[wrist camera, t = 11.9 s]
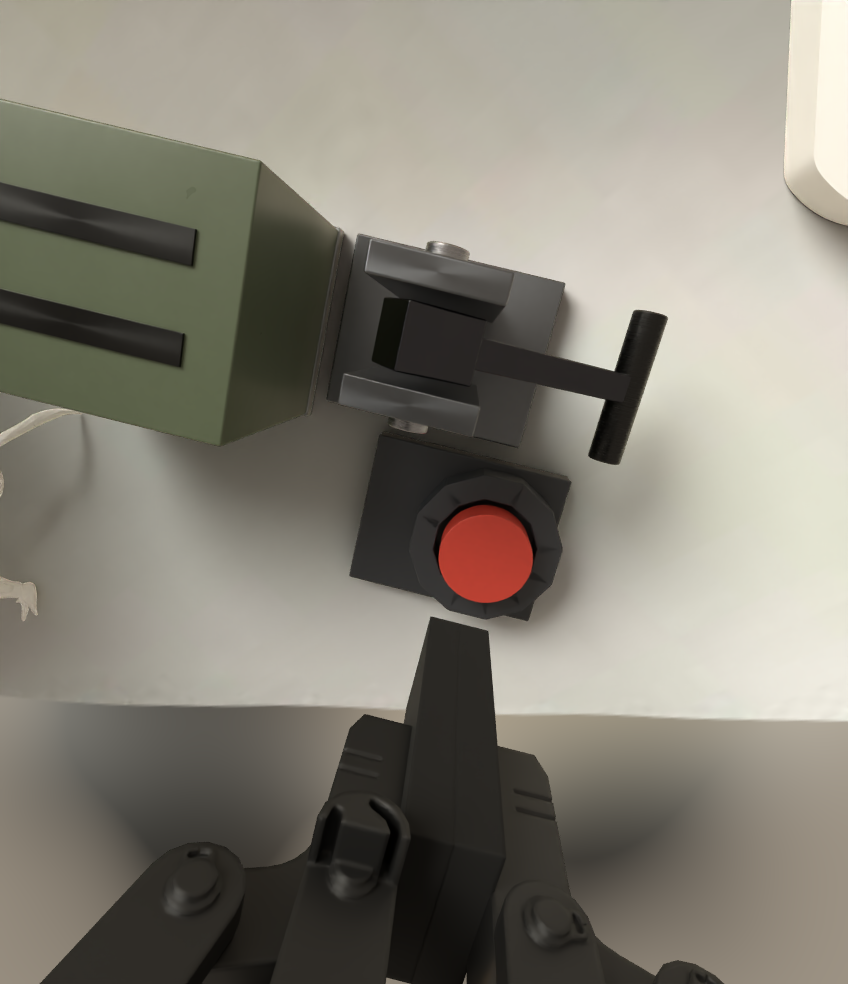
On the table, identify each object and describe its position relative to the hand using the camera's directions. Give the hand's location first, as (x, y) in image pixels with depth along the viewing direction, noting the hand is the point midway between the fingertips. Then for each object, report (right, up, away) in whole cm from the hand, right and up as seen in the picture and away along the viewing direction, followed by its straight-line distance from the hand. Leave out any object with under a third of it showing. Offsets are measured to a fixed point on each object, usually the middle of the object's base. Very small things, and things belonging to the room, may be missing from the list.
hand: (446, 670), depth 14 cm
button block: (+1, +3, +16) cm, 17 cm away
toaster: (-11, +14, +14) cm, 23 cm away
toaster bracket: (0, +12, +14) cm, 19 cm away
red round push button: (+2, +2, +14) cm, 14 cm away
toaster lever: (+3, +10, +7) cm, 12 cm away
